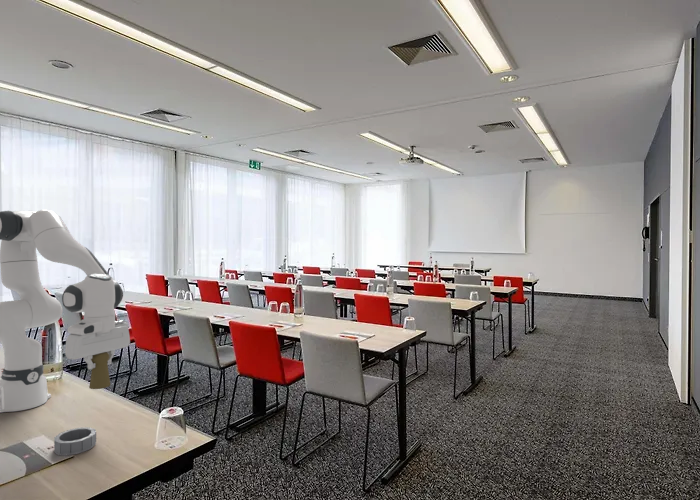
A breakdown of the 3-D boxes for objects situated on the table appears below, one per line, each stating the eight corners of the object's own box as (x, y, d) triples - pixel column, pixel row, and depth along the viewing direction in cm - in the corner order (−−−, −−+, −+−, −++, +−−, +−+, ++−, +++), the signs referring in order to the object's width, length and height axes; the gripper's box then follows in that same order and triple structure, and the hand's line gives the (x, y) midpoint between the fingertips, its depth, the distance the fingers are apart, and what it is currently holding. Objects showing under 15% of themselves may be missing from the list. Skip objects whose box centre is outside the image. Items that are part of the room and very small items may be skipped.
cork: (100, 389, 137) (100, 355, 136) (84, 388, 138) (84, 354, 138) (114, 383, 142) (115, 350, 142) (99, 382, 144) (99, 349, 144)
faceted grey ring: (46, 450, 126) (46, 438, 126) (81, 436, 135) (81, 424, 135) (68, 458, 121) (68, 446, 121) (103, 443, 131) (103, 431, 131)
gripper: (121, 318, 151) (121, 357, 151) (62, 328, 132) (62, 373, 132) (134, 319, 148) (134, 359, 148) (75, 330, 129) (75, 376, 130)
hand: (99, 366), depth 140 cm, fingers closed on cork, 4 cm apart
